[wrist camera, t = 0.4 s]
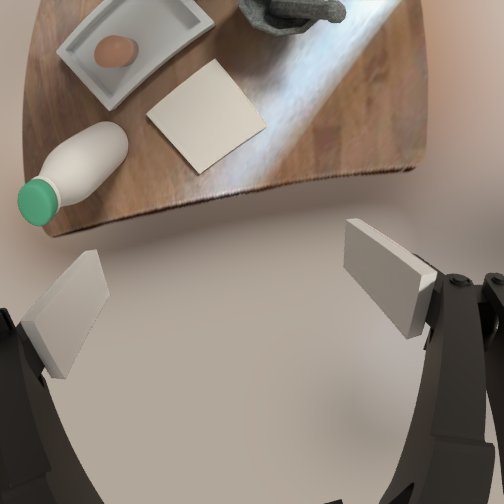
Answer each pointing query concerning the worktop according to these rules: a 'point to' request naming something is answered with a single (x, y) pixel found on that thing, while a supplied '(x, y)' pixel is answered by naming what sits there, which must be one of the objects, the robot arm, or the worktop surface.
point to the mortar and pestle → (290, 14)
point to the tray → (142, 32)
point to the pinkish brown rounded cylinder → (116, 51)
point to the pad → (207, 116)
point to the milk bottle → (73, 171)
